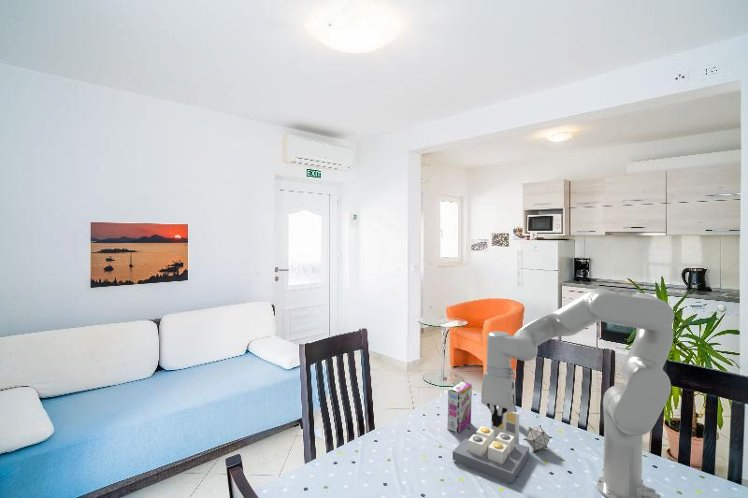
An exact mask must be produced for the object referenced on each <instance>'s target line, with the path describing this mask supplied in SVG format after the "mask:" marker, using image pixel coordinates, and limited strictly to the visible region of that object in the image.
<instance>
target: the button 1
mask: <svg viewBox="0 0 748 498" xmlns="http://www.w3.org/2000/svg"><path fill="white" fill-rule="evenodd" d="M476 430H477V431H476V435H478V436H481V437H484V438H487V447H489V445H490V444H491V443H492V442H493V441H494V430H492V429H491V428H489V427H486V426H484V425H483V426H482V425H481V426H480V427H479V428H478V429H476Z"/></svg>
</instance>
